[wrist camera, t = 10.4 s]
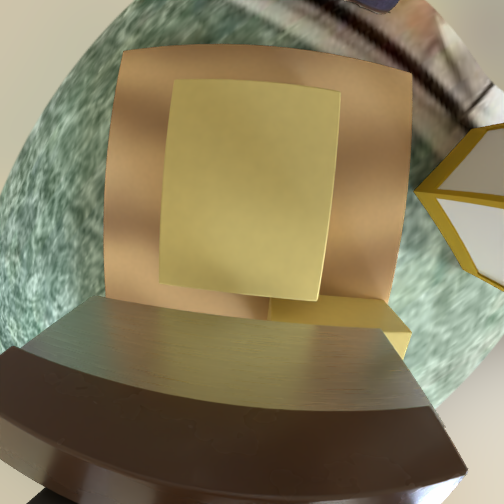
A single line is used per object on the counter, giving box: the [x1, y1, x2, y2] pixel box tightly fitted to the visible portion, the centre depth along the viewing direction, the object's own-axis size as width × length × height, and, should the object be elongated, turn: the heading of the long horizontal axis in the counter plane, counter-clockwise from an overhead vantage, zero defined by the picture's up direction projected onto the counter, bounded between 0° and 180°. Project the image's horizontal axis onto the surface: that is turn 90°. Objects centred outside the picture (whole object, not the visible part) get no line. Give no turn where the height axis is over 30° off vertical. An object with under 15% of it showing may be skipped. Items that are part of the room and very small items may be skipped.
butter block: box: [159, 79, 341, 301], centre depth 14 cm, size 9×7×4 cm
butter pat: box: [267, 295, 412, 360], centre depth 15 cm, size 3×7×4 cm, turn 85°
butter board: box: [104, 44, 412, 321], centre depth 18 cm, size 24×18×2 cm
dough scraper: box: [0, 295, 468, 504], centre depth 7 cm, size 2×12×8 cm, turn 85°
